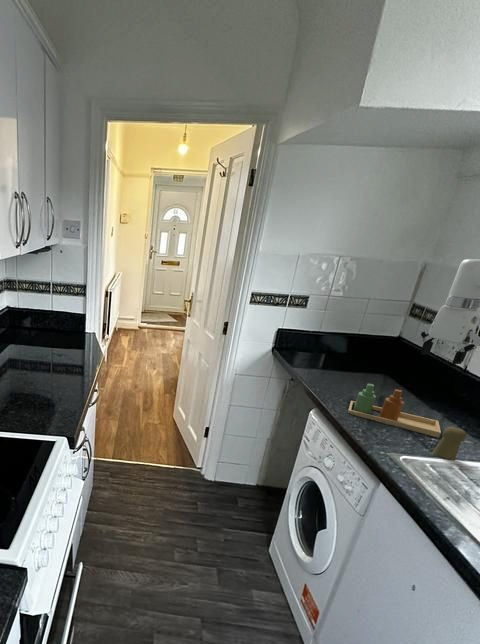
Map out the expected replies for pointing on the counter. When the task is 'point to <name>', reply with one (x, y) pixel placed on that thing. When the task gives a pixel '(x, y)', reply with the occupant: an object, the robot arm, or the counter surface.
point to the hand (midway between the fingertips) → (439, 358)
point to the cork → (449, 443)
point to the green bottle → (365, 400)
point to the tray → (404, 421)
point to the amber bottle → (392, 406)
